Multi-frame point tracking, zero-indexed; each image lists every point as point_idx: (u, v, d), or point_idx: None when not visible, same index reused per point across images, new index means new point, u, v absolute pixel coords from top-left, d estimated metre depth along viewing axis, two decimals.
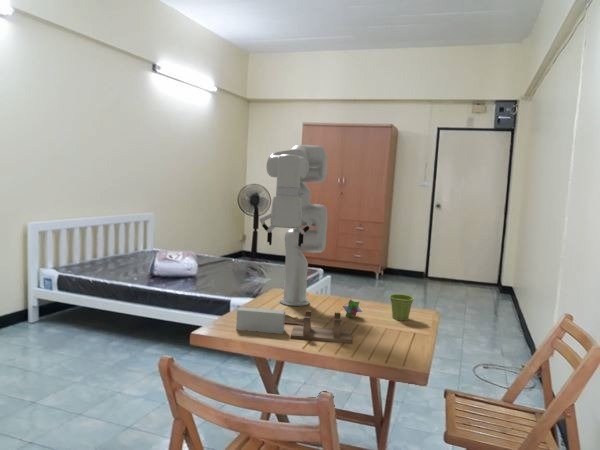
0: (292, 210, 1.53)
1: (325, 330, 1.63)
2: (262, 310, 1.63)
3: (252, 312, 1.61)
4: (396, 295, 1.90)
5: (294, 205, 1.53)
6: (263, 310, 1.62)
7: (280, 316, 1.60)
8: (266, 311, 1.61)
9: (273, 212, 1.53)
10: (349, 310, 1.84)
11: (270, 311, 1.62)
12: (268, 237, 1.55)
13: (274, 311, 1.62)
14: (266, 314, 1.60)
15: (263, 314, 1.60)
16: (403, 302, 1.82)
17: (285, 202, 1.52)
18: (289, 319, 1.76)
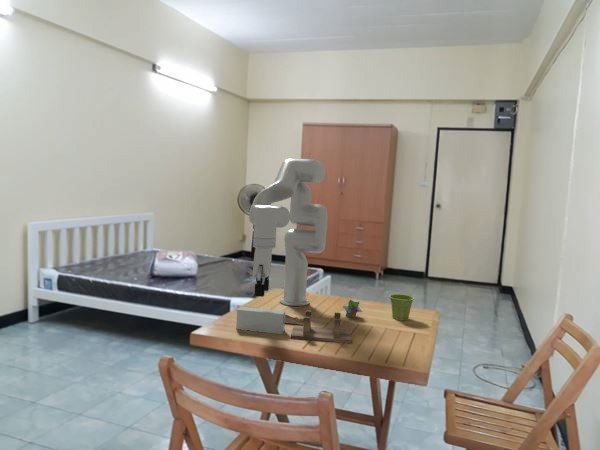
0: None
1: (325, 330, 1.63)
2: (262, 310, 1.63)
3: (252, 312, 1.61)
4: (396, 295, 1.90)
5: None
6: (263, 310, 1.62)
7: (279, 316, 1.59)
8: (266, 311, 1.61)
9: (267, 264, 1.56)
10: (349, 310, 1.84)
11: (270, 311, 1.61)
12: (261, 289, 1.56)
13: (274, 311, 1.62)
14: (266, 314, 1.60)
15: (262, 314, 1.60)
16: (403, 302, 1.82)
17: (271, 252, 1.60)
18: (289, 319, 1.76)
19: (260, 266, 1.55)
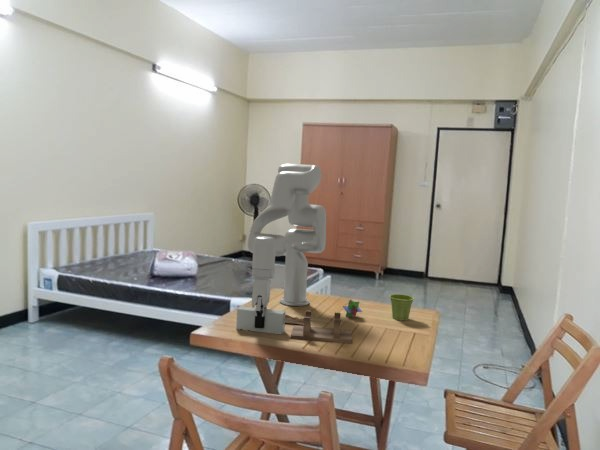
0: None
1: (325, 330, 1.63)
2: None
3: (252, 311, 1.61)
4: (396, 295, 1.90)
5: (270, 283, 1.64)
6: None
7: (279, 316, 1.59)
8: (265, 311, 1.61)
9: (266, 295, 1.57)
10: (349, 310, 1.84)
11: (270, 311, 1.61)
12: (261, 321, 1.59)
13: (274, 311, 1.62)
14: (266, 314, 1.60)
15: None
16: (403, 302, 1.82)
17: (269, 282, 1.61)
18: (289, 319, 1.76)
19: (259, 299, 1.57)
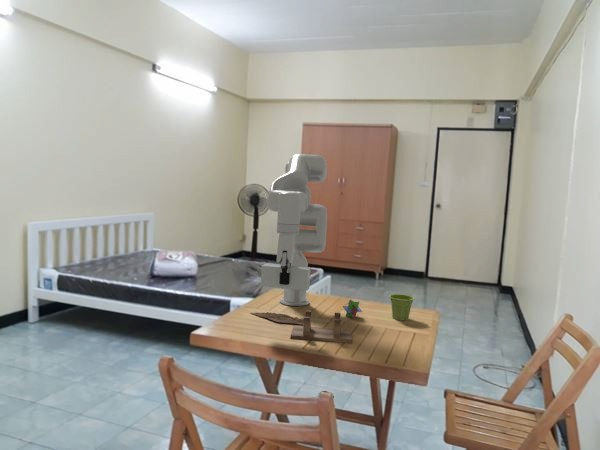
0: None
1: (325, 330, 1.63)
2: None
3: (276, 268, 1.59)
4: (396, 295, 1.90)
5: None
6: None
7: (304, 272, 1.57)
8: (290, 267, 1.59)
9: (291, 250, 1.55)
10: (349, 310, 1.84)
11: (295, 267, 1.59)
12: (286, 277, 1.57)
13: (299, 267, 1.59)
14: (291, 270, 1.58)
15: None
16: (403, 302, 1.82)
17: (294, 238, 1.58)
18: (289, 319, 1.76)
19: (284, 255, 1.55)
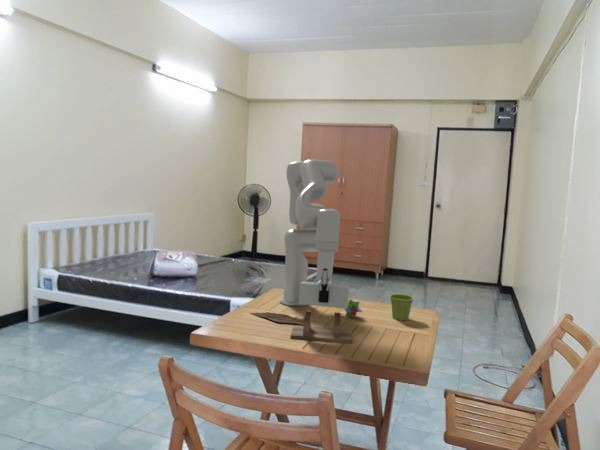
0: None
1: (325, 330, 1.63)
2: None
3: (315, 286, 1.57)
4: (396, 295, 1.90)
5: None
6: None
7: (344, 290, 1.56)
8: (329, 285, 1.58)
9: (331, 268, 1.54)
10: (349, 310, 1.84)
11: (334, 285, 1.58)
12: (326, 295, 1.56)
13: (338, 285, 1.58)
14: (330, 288, 1.57)
15: None
16: (403, 302, 1.82)
17: (333, 256, 1.57)
18: (289, 319, 1.76)
19: (324, 273, 1.53)
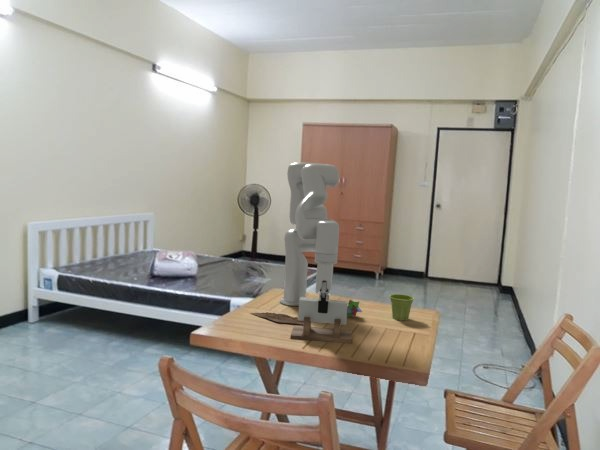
0: None
1: (325, 330, 1.63)
2: None
3: (315, 302, 1.58)
4: (396, 295, 1.90)
5: None
6: None
7: (343, 306, 1.57)
8: (328, 301, 1.58)
9: (330, 280, 1.54)
10: (349, 310, 1.84)
11: (333, 301, 1.59)
12: (325, 306, 1.54)
13: (336, 301, 1.59)
14: (329, 304, 1.57)
15: None
16: (403, 302, 1.82)
17: None
18: (289, 319, 1.76)
19: (324, 283, 1.53)
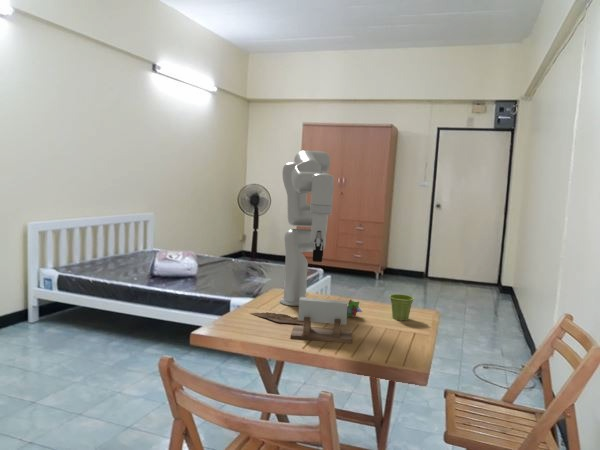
0: None
1: (325, 330, 1.63)
2: (324, 300, 1.60)
3: (315, 302, 1.58)
4: (396, 295, 1.90)
5: None
6: (325, 300, 1.60)
7: (343, 306, 1.57)
8: (328, 301, 1.58)
9: (325, 230, 1.59)
10: (349, 310, 1.84)
11: (333, 301, 1.59)
12: (319, 255, 1.59)
13: (336, 301, 1.59)
14: (329, 304, 1.57)
15: (326, 304, 1.57)
16: (403, 302, 1.82)
17: (327, 219, 1.63)
18: (289, 319, 1.76)
19: (318, 232, 1.58)
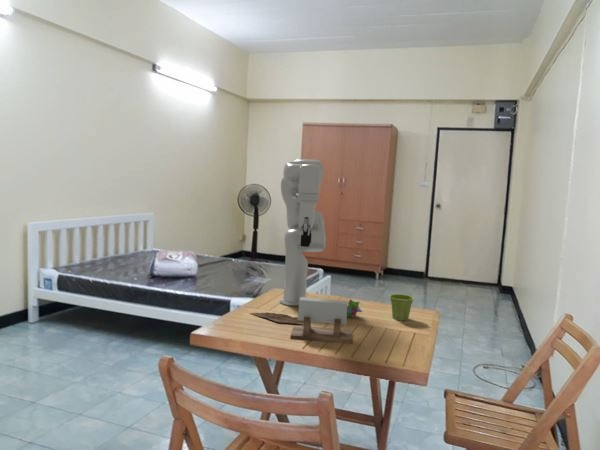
0: None
1: (325, 330, 1.63)
2: (324, 300, 1.60)
3: (315, 302, 1.58)
4: (396, 295, 1.90)
5: None
6: (325, 300, 1.60)
7: (343, 306, 1.57)
8: (328, 301, 1.58)
9: (312, 217, 1.70)
10: (349, 310, 1.84)
11: (333, 301, 1.59)
12: (307, 240, 1.70)
13: (336, 301, 1.59)
14: (329, 304, 1.57)
15: (326, 304, 1.57)
16: (403, 302, 1.82)
17: (314, 207, 1.73)
18: (289, 319, 1.76)
19: (306, 218, 1.69)
